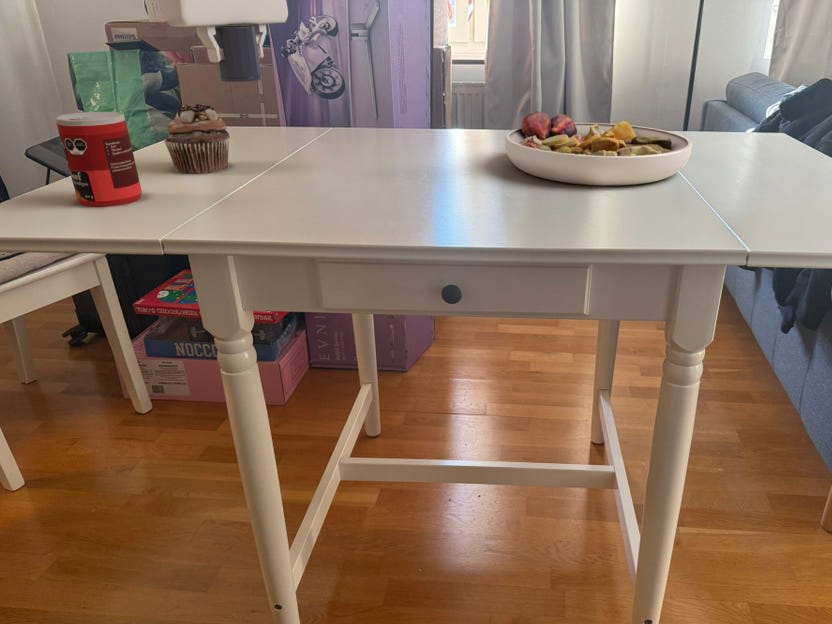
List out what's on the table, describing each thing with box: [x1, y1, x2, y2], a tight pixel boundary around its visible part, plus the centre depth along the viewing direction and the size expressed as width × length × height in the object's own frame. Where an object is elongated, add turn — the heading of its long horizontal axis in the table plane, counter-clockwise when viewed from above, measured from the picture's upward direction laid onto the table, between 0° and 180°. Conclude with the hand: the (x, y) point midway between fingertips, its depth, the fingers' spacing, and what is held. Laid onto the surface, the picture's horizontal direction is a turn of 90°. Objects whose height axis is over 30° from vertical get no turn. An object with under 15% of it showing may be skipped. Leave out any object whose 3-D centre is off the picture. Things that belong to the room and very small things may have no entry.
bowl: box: [504, 110, 693, 187], centre depth 110 cm, size 30×30×8 cm
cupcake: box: [163, 102, 231, 175], centre depth 107 cm, size 10×10×10 cm
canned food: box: [55, 111, 143, 208], centre depth 89 cm, size 8×8×11 cm
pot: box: [213, 25, 263, 83], centre depth 97 cm, size 6×6×7 cm
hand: (237, 60), depth 98 cm, fingers closed on pot, 6 cm apart
